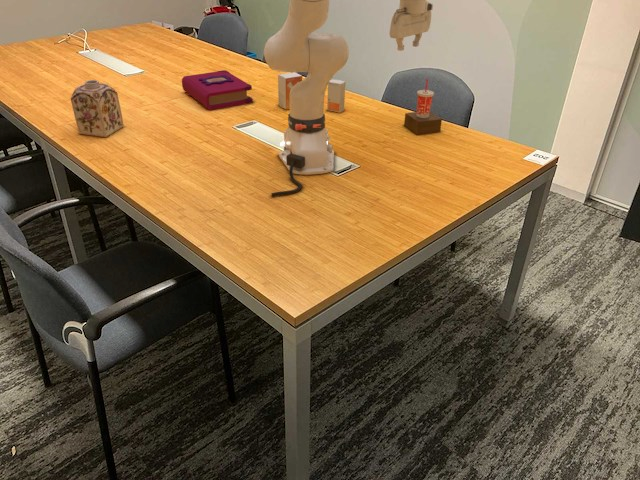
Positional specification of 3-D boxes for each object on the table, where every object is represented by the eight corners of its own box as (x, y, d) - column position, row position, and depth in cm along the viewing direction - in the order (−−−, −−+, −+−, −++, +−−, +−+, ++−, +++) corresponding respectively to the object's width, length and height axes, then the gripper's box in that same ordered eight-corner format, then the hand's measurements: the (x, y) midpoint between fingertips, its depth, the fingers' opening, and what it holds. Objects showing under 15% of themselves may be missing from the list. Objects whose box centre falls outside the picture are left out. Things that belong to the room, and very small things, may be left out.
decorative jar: (125, 126, 197) (115, 78, 187) (106, 138, 188) (95, 87, 178) (97, 123, 200) (86, 75, 190) (77, 134, 190) (65, 84, 180)
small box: (285, 110, 215) (285, 78, 208) (278, 105, 220) (277, 74, 212) (302, 106, 219) (302, 75, 212) (294, 102, 223) (294, 71, 216)
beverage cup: (430, 113, 200) (435, 76, 192) (431, 119, 195) (436, 81, 187) (414, 112, 200) (418, 75, 193) (415, 118, 195) (419, 80, 188)
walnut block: (440, 131, 198) (442, 119, 195) (416, 135, 195) (418, 122, 192) (426, 122, 206) (428, 110, 203) (403, 125, 203) (405, 113, 200)
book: (207, 111, 213) (205, 92, 209) (183, 92, 233) (180, 75, 228) (253, 102, 222) (252, 84, 218) (226, 85, 242) (225, 68, 238)
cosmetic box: (326, 110, 216) (327, 81, 209) (331, 107, 219) (332, 78, 212) (340, 113, 213) (341, 83, 207) (344, 110, 216) (345, 81, 210)
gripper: (402, 10, 172) (398, 54, 180) (435, 4, 185) (430, 45, 192) (387, 8, 176) (383, 51, 183) (420, 2, 189) (416, 42, 196)
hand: (408, 48), depth 188 cm, fingers open, 8 cm apart
